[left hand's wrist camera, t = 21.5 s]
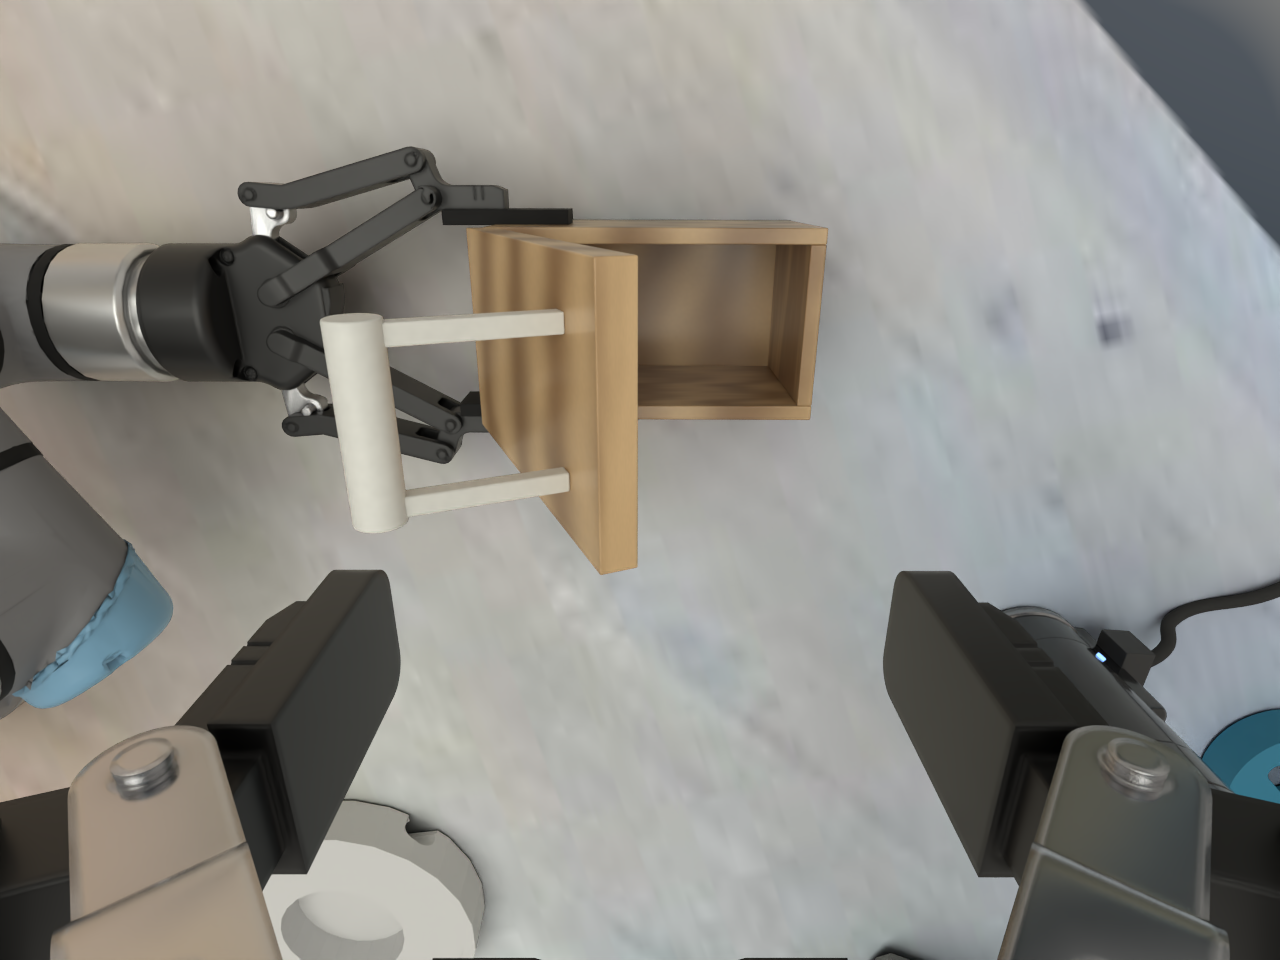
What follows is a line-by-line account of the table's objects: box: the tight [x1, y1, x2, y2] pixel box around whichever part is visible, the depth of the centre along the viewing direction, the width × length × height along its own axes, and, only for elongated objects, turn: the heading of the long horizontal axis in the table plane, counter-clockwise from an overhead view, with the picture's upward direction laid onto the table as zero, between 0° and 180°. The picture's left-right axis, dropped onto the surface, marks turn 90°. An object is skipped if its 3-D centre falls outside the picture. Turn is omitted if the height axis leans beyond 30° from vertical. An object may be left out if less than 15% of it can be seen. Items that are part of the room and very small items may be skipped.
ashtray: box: [263, 801, 485, 960], centre depth 64 cm, size 23×23×4 cm
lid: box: [320, 227, 638, 575], centre depth 27 cm, size 17×10×8 cm
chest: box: [484, 219, 828, 420], centre depth 41 cm, size 17×10×10 cm, turn 90°
